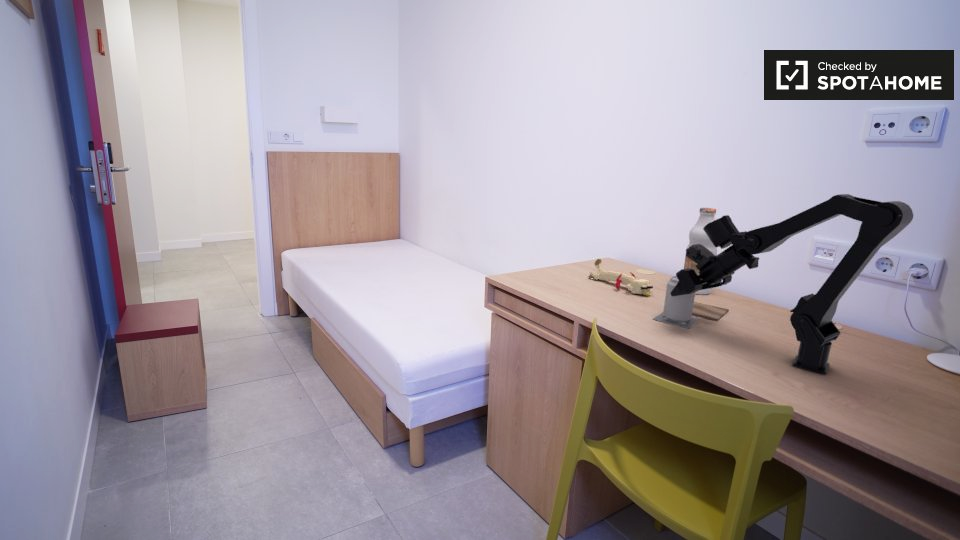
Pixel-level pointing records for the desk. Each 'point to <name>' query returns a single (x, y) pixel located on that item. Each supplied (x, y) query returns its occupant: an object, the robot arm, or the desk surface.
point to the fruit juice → (701, 240)
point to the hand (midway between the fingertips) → (681, 292)
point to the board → (708, 311)
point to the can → (677, 304)
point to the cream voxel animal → (623, 280)
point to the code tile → (685, 325)
